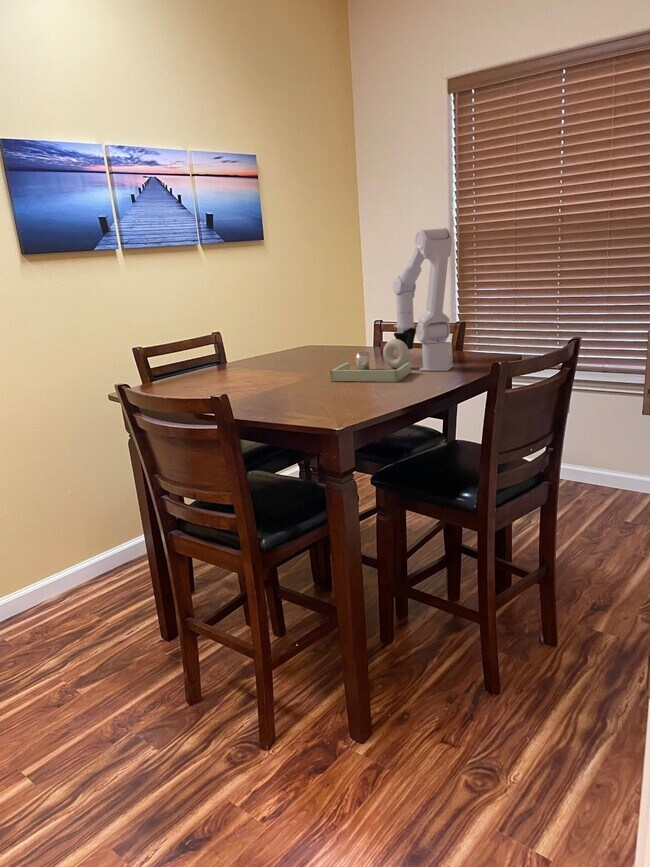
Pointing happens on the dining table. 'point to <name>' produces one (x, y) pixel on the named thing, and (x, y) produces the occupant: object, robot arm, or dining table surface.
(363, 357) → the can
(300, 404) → the dining table surface
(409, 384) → the dining table surface
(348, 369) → the tray
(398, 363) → the donut
